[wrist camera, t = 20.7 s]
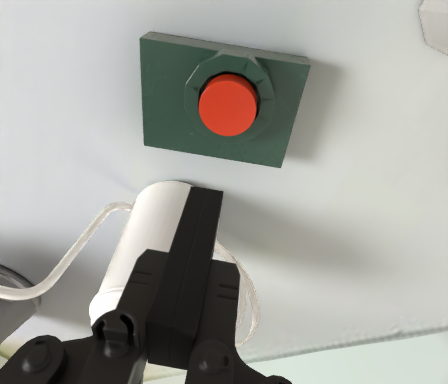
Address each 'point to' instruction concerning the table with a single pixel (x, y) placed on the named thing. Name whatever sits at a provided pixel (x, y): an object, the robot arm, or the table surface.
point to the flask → (435, 23)
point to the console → (194, 86)
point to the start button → (228, 105)
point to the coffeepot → (139, 249)
